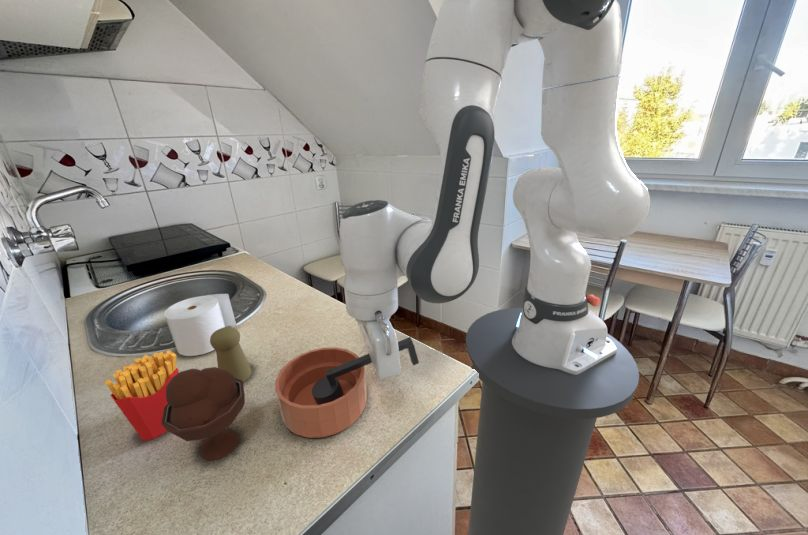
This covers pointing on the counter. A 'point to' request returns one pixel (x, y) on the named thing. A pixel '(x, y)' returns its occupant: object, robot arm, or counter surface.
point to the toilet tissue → (198, 322)
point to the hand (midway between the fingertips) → (376, 364)
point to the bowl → (300, 403)
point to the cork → (230, 352)
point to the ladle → (330, 385)
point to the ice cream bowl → (204, 409)
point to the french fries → (144, 392)
